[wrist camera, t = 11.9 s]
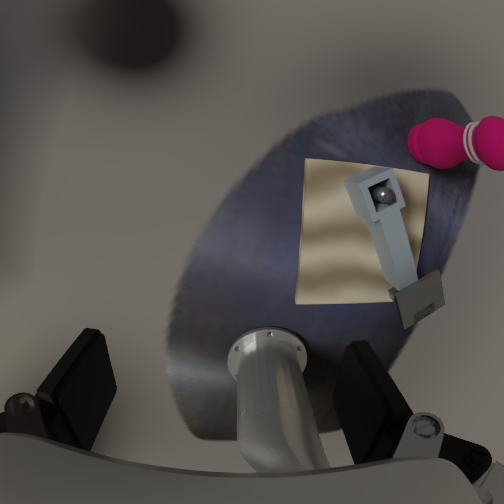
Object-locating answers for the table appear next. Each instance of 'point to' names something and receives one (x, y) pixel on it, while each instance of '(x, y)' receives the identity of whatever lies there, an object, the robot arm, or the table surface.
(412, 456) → the robot arm
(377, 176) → the link
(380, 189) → the post
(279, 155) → the table surface
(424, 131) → the pepper mill
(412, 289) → the block
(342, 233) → the base board
